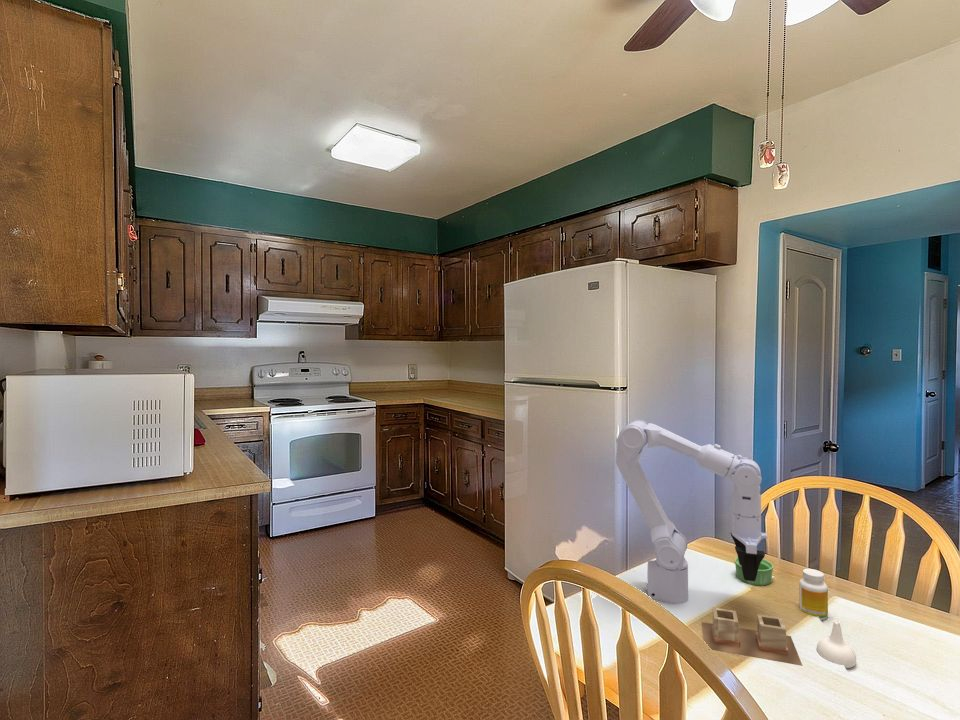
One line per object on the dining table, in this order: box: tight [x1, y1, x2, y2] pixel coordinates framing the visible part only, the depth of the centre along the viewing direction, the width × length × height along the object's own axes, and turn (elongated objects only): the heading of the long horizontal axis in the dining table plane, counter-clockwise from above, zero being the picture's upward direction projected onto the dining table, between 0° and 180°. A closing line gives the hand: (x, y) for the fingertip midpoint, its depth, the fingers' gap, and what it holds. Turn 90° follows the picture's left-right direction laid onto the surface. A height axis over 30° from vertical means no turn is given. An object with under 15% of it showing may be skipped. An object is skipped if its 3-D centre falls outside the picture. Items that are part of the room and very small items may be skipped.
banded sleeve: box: [756, 613, 788, 655], centre depth 101 cm, size 5×5×5 cm
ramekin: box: [733, 556, 774, 587], centre depth 131 cm, size 9×9×4 cm
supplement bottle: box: [798, 568, 829, 621], centre depth 114 cm, size 5×5×10 cm
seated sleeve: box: [711, 607, 740, 647], centre depth 104 cm, size 5×5×5 cm
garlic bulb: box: [816, 619, 857, 669], centre depth 98 cm, size 6×6×8 cm
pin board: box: [701, 621, 803, 666], centre depth 103 cm, size 17×10×4 cm, turn 69°
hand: (747, 572), depth 114 cm, fingers open, 7 cm apart
